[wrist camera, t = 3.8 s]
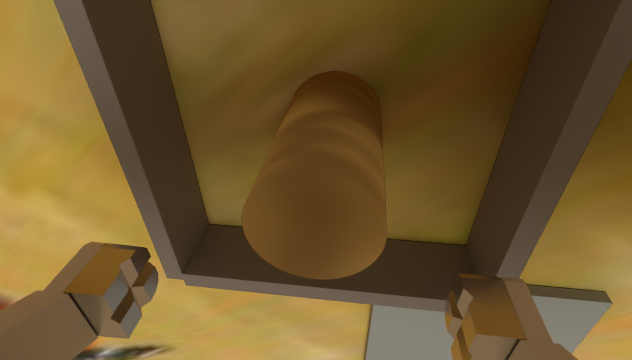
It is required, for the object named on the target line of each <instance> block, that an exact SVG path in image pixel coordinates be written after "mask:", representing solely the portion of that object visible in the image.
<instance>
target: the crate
mask: <svg viewBox="0 0 632 360" xmlns="http://www.w3.org/2000/svg"><path fill="white" fill-rule="evenodd" d="M54 3H55V5H56V8H57V10H58V12H59V15H60V17H61V20H62V22H63V25H64V27H65V30H66V32H67V34H68V37H69V39H70V42H71V44H72V47H73V49H74V52H75V54H76V56H77V59H78V61H79V64H80V66H81V69H82V71H83V74H84V76H85V78H86V81H87V83H88V86H89V88H90V91H91V93H92V96H93V98H94V100H95V103H96V105H97V108H98V110H99V113H100V115H101V118H102V120H103V122H104V125H105V127H106V130H107V132H108V135H109V137H110V140H111V142H112V144H113V147H114V149H115V152H116V154H117V157H118V159H119V161H120V164H121V166H122V169H123V171H124V174H125V176H126V179H127V181H128V183H129V186H130V188H131V191H132V193H133V196H134V198H135V201H136V203H137V205H138V208H139V210H140V213H141V215H142V218H143V220H144V223H145V225H146V227H147V230H148V232H149V235H150V237H151V240H152V242H153V245H154V247H155V249H156V252H157V254H158V257H159V259H160V262H161V264H162V267H163V269H164V271H165V274H166V276H167V278H173V279H182V280H184V281H185V284H186V285H188V286H198V287H208V288H217V289H227V290H236V291H246V292H256V293H265V294H275V295H285V296H294V297H304V298H313V299H323V300H333V301H342V302H352V303H362V304H371V305H381V306H390V307H400V308H410V309H419V310H429V311H439V312H445V302H446V299H447V295H448V294H449V293H450V292H452V291H453V287H452V281H453V278H454V276H455V275H456V274H470V275H484V276H497V277H505V278H517V279H519V277H520V275H521V273H522V271H523V269H524V267H525V265H526V263H527V261H528V259H529V257H530V256H531V254H532V252H533V250H534V248H535V246H536V244H537V242H538V240H539V238H540V236H541V234H542V232H543V230H544V228H545V227H546V225H547V223H548V221H549V219H550V217H551V215H552V213H553V211H554V209H555V207H556V205H557V203H558V201H559V199H560V197H561V196H562V194H563V192H564V190H565V188H566V186H567V184H568V182H569V180H570V178H571V176H572V174H573V172H574V170H575V168H576V167H577V165H578V163H579V161H580V159H581V157H582V155H583V153H584V151H585V149H586V147H587V145H588V143H589V141H590V139H591V137H592V136H593V134H594V132H595V130H596V128H597V126H598V124H599V122H600V120H601V118H602V116H603V114H604V112H605V110H606V108H607V107H608V105H609V103H610V101H611V99H612V97H613V95H614V93H615V91H616V89H617V87H618V85H619V83H620V81H621V79H622V77H623V76H624V74H625V72H626V70H627V68H628V66H629V64H630V62H631V60H632V0H551V3H550V6H549V9H548V12H547V15H546V17H545V20H544V23H543V26H542V29H541V32H540V35H539V38H538V40H537V43H536V46H535V49H534V52H533V55H532V58H531V61H530V63H529V66H528V69H527V72H526V75H525V78H524V81H523V83H522V86H521V89H520V92H519V95H518V98H517V101H516V104H515V106H514V109H513V112H512V115H511V118H510V121H509V124H508V127H507V129H506V132H505V135H504V138H503V141H502V144H501V147H500V150H499V152H498V155H497V158H496V161H495V164H494V167H493V170H492V173H491V175H490V178H489V181H488V184H487V187H486V190H485V193H484V196H483V198H482V201H481V204H480V207H479V210H478V213H477V216H476V219H475V221H474V224H473V227H472V230H471V233H470V236H469V239H468V242H467V244H466V246H464V245H452V244H440V243H428V242H416V241H404V240H392V239H386V243H385V246H384V249H383V251H382V253H381V254H380V256H379V257H378V258H377V259H376V260H375V261H374V262H373V263H372V264H371V265H370V266H368V267H367V268H365V269H364V270H362V271H360V272H358V273H356V274H353V275H350V276H347V277H342V278H337V279H310V278H304V277H300V276H296V275H293V274H290V273H287V272H285V271H282V270H280V269H278V268H276V267H274V266H273V265H271V264H270V263H268V262H267V261H265V260H264V259H263V258H262V257H261V256H259V255H258V254H257V253H256V252H255V250H254V249H253V248H252V247H251V245H250V244H249V242H248V240H247V238H246V236H245V234H244V231H243V227H235V226H223V225H211V224H209V223H208V219H207V215H206V212H205V208H204V204H203V200H202V196H201V192H200V189H199V185H198V181H197V177H196V173H195V170H194V166H193V162H192V158H191V154H190V151H189V147H188V143H187V139H186V135H185V132H184V128H183V124H182V120H181V116H180V112H179V109H178V105H177V101H176V97H175V93H174V90H173V86H172V82H171V78H170V74H169V71H168V67H167V63H166V59H165V55H164V52H163V48H162V44H161V40H160V36H159V33H158V29H157V25H156V21H155V17H154V13H153V10H152V6H151V2H150V0H54Z"/></svg>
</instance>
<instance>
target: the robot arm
mask: <svg viewBox="0 0 632 360" xmlns="http://www.w3.org/2000/svg"><path fill="white" fill-rule="evenodd" d="M150 257H151V256H150V254H149V252H148V250H147V248H144V247H137V246H128V245H119V244H110V243H100V242H90V243H88V244H86V245H84V246H83V247H82V248H81V249H80V250H79V252H78V253H77V254H76V255H75V256H74V257H73V258H72V259H71V260H70V261H69V263H68V264H67V265H66V266H65V267H64V268H63V269H62V270H61V271H60V273H59V274H58V275H57V276H56V277H55V278H54V279H53V280H52V281H51V283H50V284H49V285H48V286H47V287H46V288H45V289H44V290H43V291H36V292H34V293H32V294H30V295H28V296H26V297H25V298H23V299H21V300H19V301H17V302H15V303H14V304H12V305H10V306H8V307H6V308H4V309H3V310H1V311H0V360H72V359H73V358H74V357H75V356H77V355H78V354H79V353H80V352H81V351H83V350H84V349H85V348H86V347H88V346H89V345H90V344H91V343H92V342H94V341H95V340H96V339H97V338H98V337H97V336H104V337H116V338H127V339H129V337H130V335H131V334H132V332H133V330H134V328H135V327H136V325H137V323H138V322H139V320H140V318H141V317H142V312H141V307H143V306H144V305H145V304H147V303H148V302H150V301H151V299H152V297H153V296H154V294H155V292H156V288H157V284H158V272H157V270H156V267H155V266H153V265H152V264H151V263H150V262H148V260H149V258H150ZM452 287H453V291H452V292H450V293H449V294H448V295H447V299H446V302H445V322H446V328H447V332H448V333H449V334H450V335H451V336H452V337H453V338H454V342H453V344H452V347H451V353H452V358H453V360H578V359H577V358H575V357H574V356H573V355H572V354H571V353H570V352H569V351H568V350H566V349H565V348H564V347H563V346H562V345H561V344H555V343H553V341H552V339H551V337H550V335H549V333H548V330H547V328H546V326H545V324H544V322H543V320H542V317H541V315H540V313H539V311H538V309H537V306H536V304H535V302H534V300H533V298H532V296H531V293H530V291H529V289H528V287H527V285H526V283H525V282H524V281H523V280H522V279H517V278H505V277H497V276H484V275H470V274H456V275H455V276H454V278H453V281H452Z"/></svg>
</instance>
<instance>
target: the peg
mask: <svg viewBox="0 0 632 360" xmlns="http://www.w3.org/2000/svg"><path fill="white" fill-rule="evenodd" d="M242 227H243V231H244V234H245V236H246V238H247V240H248V242H249V244H250V245H251V247H252V248H253V249H254V250H255V252H256V253H257V254H258V255H259V256H261V257H262V258H263V259H264V260H265V261H267V262H268V263H270V264H271V265H273V266H274V267H276V268H278V269H280V270H282V271H285V272H287V273H290V274H293V275H296V276H300V277H304V278H310V279H337V278H342V277H347V276H350V275H353V274H356V273H358V272H360V271H362V270H364V269H365V268H367V267H368V266H370V265H371V264H372V263H373V262H374V261H375V260H376V259H377V258H378V257H379V256H380V254H381V253H382V251H383V249H384V246H385V243H386V239H387V219H386V200H385V181H384V162H383V143H382V124H381V109H380V104H379V101H378V98H377V96H376V94H375V93H374V91H373V90H372V89H371V87H370V86H369V85H368V84H367V83H365V82H364V81H363V80H361V79H360V78H358V77H356V76H354V75H351V74H349V73H344V72H337V71H334V72H325V73H321V74H317V75H315V76H313V77H311V78H310V79H308V80H307V81H305V82H304V83H303V84H302V85H301V86H300V87H299V88H298V90H297V91H296V93H295V95H294V97H293V99H292V101H291V104H290V106H289V108H288V110H287V112H286V115H285V117H284V119H283V121H282V123H281V126H280V128H279V130H278V132H277V134H276V137H275V139H274V141H273V143H272V145H271V148H270V150H269V152H268V154H267V156H266V159H265V161H264V163H263V165H262V167H261V170H260V172H259V174H258V176H257V178H256V181H255V183H254V185H253V187H252V189H251V192H250V194H249V196H248V198H247V200H246V203H245V205H244V208H243V212H242Z"/></svg>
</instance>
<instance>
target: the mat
mask: <svg viewBox="0 0 632 360" xmlns="http://www.w3.org/2000/svg"><path fill="white" fill-rule="evenodd" d="M527 287H528V289H529V291H530V293H531V296H532V298H533V300H534V302H535V304H536V306H537V309H538V311H539V313H540V315H541V317H542V320H543V322H544V324H545V326H546V328H547V330H548V333H549V335H550V337H551V339H552V341H553V343H555V344H561V345H562V346H563V347H564V348H565V349H566V350H568V351H569V352H570V353H571V354H572V352H573V351H574V350H575V349H576V348H577V346H578V345H579V344H580V343H581V341H582V340H583V339H584V338H585V337H586V335H587V334H588V333H589V332H590V330H591V329H592V328H593V327H594V326H595V324H596V323H597V322H598V321H599V319H600V318H601V317H602V316H603V315H604V313H605V312H606V311H607V310H608V308H609V307H610V306H611V305H612V304H613V303H612V301H611V300H610V298H609V297H608V295H607V294H606V292H599V291H589V290H578V289H567V288H556V287H546V286H535V285H527ZM453 342H454V338H453V337H452V336H451V335H450V334H449V333H448V332H447V328H446V322H445V312H439V311H429V310H419V309H410V308H400V307H390V306H381V305H372V308H371V315H370V322H369V329H368V336H367V344H366V351H365V358H364V360H453V358H452V353H451V347H452V344H453Z"/></svg>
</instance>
